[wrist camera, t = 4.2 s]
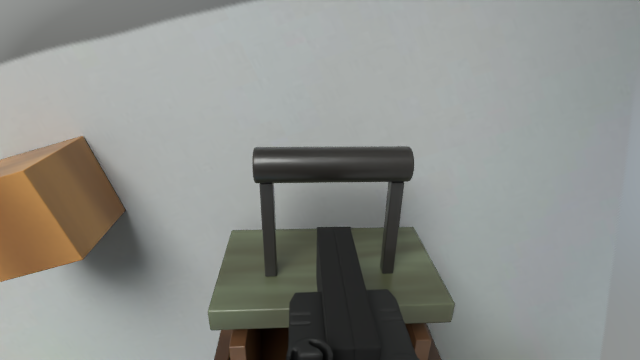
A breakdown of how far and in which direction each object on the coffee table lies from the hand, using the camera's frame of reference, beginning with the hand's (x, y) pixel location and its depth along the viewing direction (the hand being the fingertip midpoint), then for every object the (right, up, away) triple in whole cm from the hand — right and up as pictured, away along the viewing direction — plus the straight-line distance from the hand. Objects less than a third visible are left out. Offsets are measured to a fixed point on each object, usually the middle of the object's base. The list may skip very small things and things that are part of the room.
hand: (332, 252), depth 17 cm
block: (-16, +3, +5) cm, 17 cm away
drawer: (0, -3, +8) cm, 8 cm away
